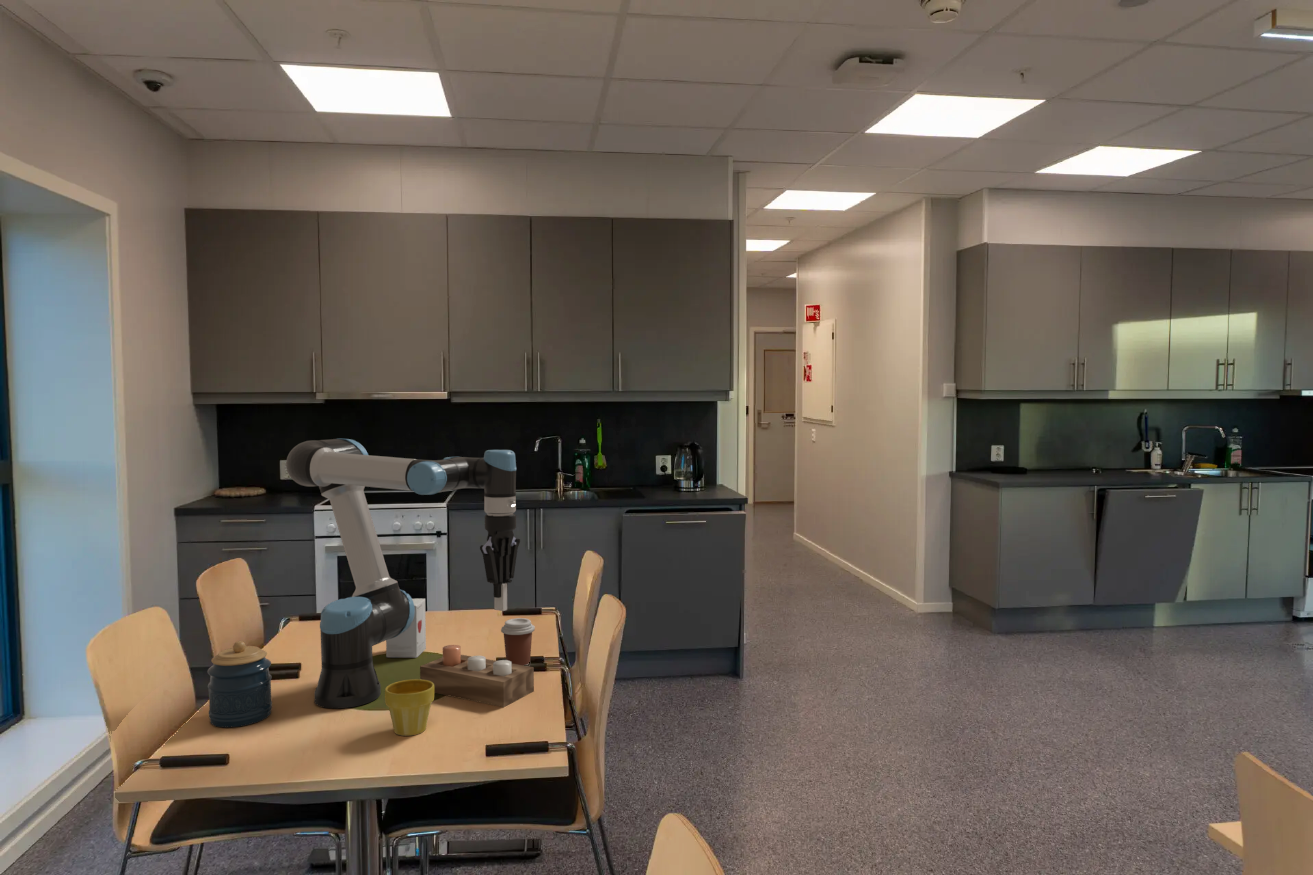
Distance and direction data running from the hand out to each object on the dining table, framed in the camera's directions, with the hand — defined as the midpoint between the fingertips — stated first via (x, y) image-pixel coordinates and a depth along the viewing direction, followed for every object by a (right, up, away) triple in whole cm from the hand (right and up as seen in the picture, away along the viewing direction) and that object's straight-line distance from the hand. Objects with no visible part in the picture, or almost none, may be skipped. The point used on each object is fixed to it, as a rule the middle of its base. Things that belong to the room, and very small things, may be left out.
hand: (500, 609), depth 199 cm
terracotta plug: (-14, -18, +8) cm, 24 cm away
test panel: (-7, -21, +4) cm, 23 cm away
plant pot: (-16, -22, -20) cm, 34 cm away
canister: (-57, -22, -12) cm, 63 cm away
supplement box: (-34, -20, +35) cm, 53 cm away
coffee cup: (0, -21, +25) cm, 32 cm away
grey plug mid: (-7, -20, +4) cm, 22 cm away
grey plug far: (0, -20, +1) cm, 20 cm away
